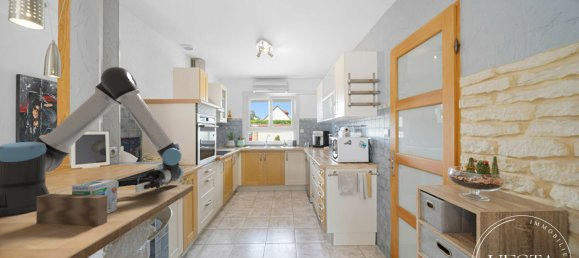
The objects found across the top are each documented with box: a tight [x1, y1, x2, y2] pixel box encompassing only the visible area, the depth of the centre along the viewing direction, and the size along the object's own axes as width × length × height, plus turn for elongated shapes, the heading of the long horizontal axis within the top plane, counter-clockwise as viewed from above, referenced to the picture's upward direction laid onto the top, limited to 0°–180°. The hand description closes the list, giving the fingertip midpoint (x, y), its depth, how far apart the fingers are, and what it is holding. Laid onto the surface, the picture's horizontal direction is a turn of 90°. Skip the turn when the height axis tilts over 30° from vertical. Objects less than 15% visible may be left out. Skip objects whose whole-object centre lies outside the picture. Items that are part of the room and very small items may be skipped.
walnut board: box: [35, 193, 108, 227], centre depth 70 cm, size 20×3×8 cm, turn 84°
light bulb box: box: [71, 178, 118, 215], centre depth 77 cm, size 11×7×11 cm, turn 0°
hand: (119, 188), depth 87 cm, fingers open, 13 cm apart
